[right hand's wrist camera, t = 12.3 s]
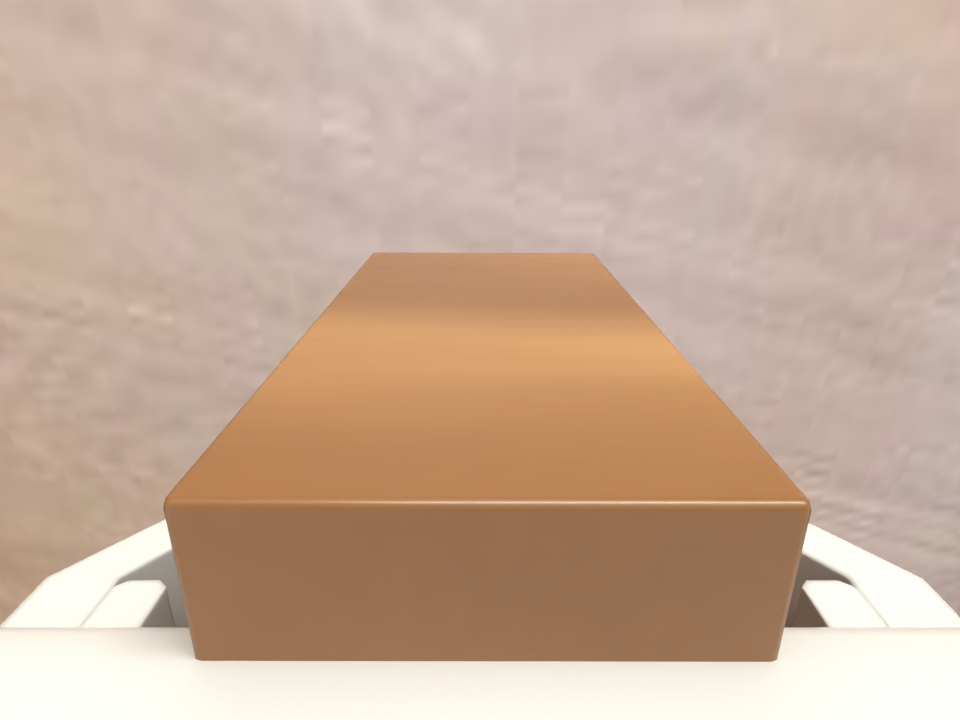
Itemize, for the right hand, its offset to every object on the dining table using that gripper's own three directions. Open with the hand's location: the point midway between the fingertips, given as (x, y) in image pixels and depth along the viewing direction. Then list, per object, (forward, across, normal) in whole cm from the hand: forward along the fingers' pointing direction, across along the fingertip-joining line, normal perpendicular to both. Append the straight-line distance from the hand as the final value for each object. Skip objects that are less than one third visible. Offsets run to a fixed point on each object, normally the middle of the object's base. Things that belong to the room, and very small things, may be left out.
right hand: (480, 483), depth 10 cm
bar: (+4, 0, +8) cm, 9 cm away
